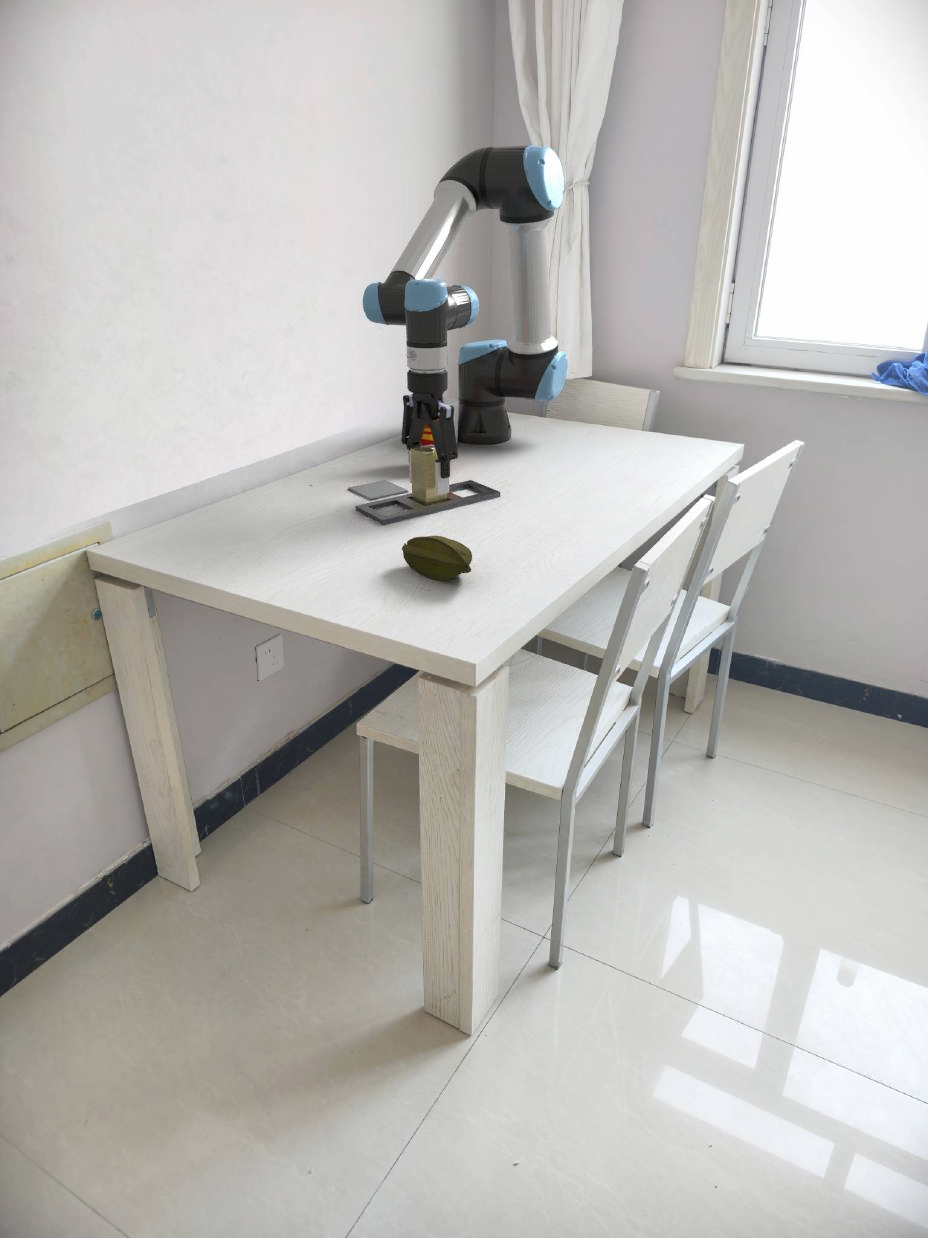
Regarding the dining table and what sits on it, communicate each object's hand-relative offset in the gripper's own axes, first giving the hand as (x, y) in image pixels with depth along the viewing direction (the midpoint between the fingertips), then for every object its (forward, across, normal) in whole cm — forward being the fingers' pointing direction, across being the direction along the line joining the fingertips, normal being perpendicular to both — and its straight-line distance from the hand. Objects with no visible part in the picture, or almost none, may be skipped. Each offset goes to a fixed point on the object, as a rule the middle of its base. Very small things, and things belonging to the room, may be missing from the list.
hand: (429, 487), depth 167 cm
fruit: (+4, +30, -19) cm, 36 cm away
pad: (+3, -13, -4) cm, 14 cm away
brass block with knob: (+3, 0, 0) cm, 3 cm away
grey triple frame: (+3, 0, 0) cm, 3 cm away
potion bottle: (+4, -19, +14) cm, 24 cm away
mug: (+4, -35, +28) cm, 45 cm away
